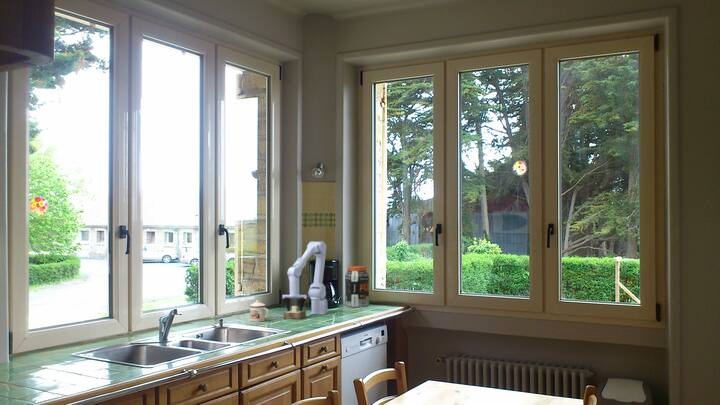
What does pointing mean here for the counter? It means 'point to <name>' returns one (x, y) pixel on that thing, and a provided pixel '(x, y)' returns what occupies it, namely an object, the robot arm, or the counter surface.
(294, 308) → the lid
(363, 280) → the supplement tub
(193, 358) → the counter surface
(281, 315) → the rubber mat
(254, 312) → the teacup with lid
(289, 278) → the robot arm
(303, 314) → the walnut box
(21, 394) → the counter surface
